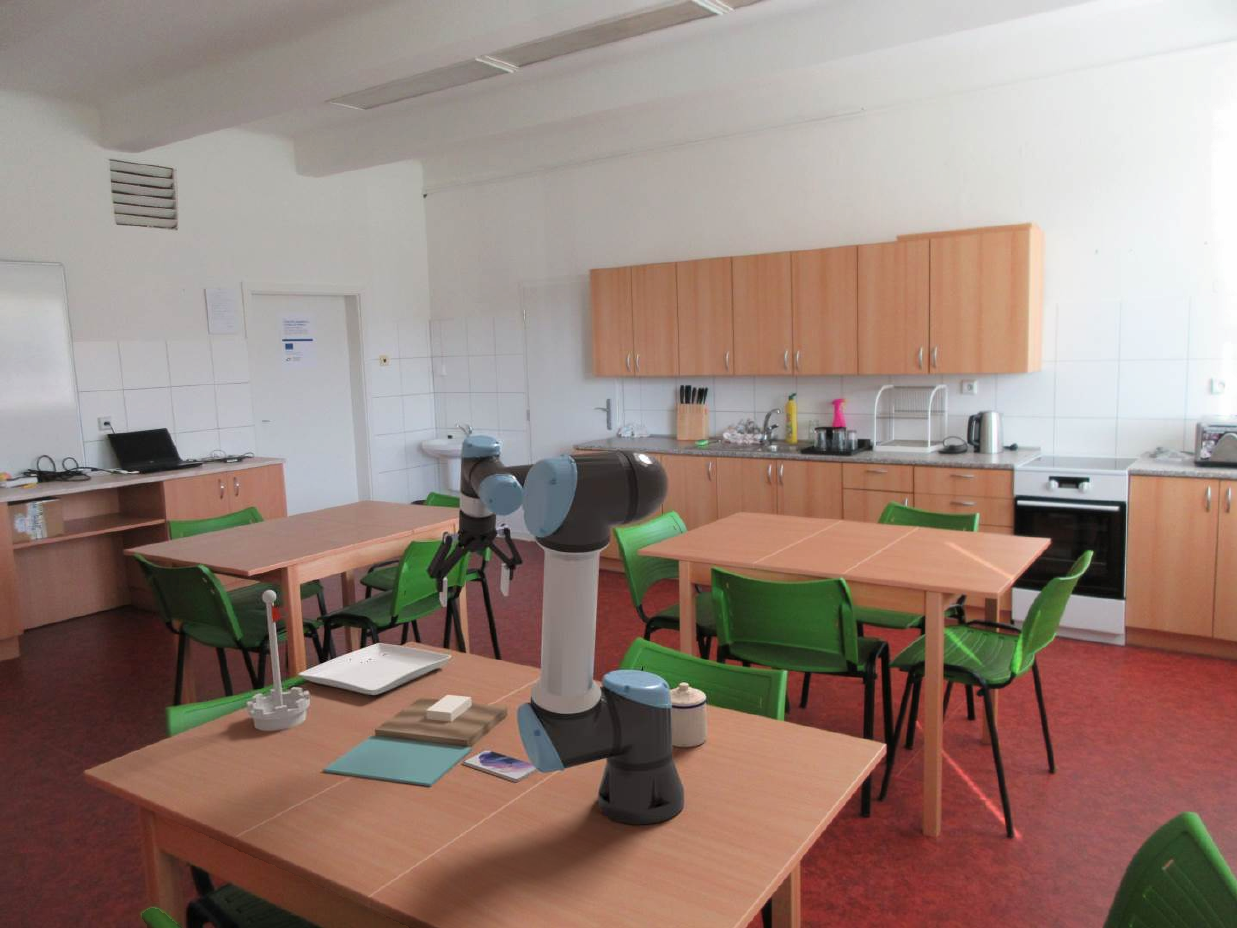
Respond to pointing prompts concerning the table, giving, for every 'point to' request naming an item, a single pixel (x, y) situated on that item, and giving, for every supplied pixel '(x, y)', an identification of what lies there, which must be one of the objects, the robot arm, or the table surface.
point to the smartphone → (501, 765)
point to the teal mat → (399, 760)
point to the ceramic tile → (448, 708)
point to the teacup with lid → (688, 716)
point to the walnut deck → (442, 724)
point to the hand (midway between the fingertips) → (474, 598)
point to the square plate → (375, 668)
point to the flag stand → (277, 687)
